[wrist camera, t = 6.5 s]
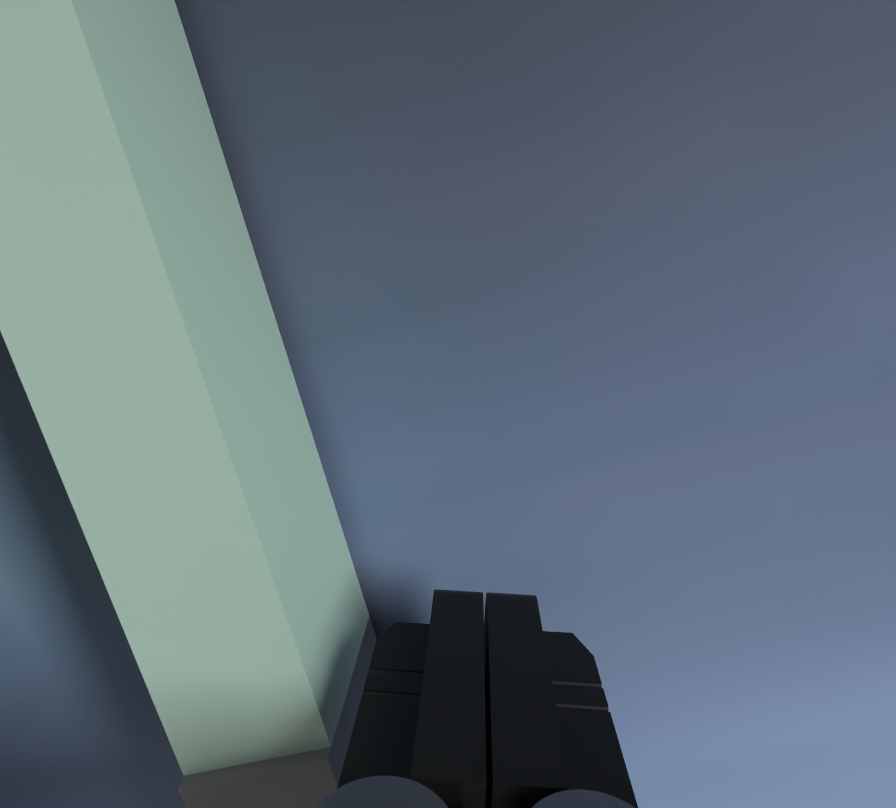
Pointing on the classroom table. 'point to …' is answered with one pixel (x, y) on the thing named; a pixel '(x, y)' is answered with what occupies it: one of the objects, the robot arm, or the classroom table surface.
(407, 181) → the classroom table surface
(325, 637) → the tongs arm
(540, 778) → the robot arm
